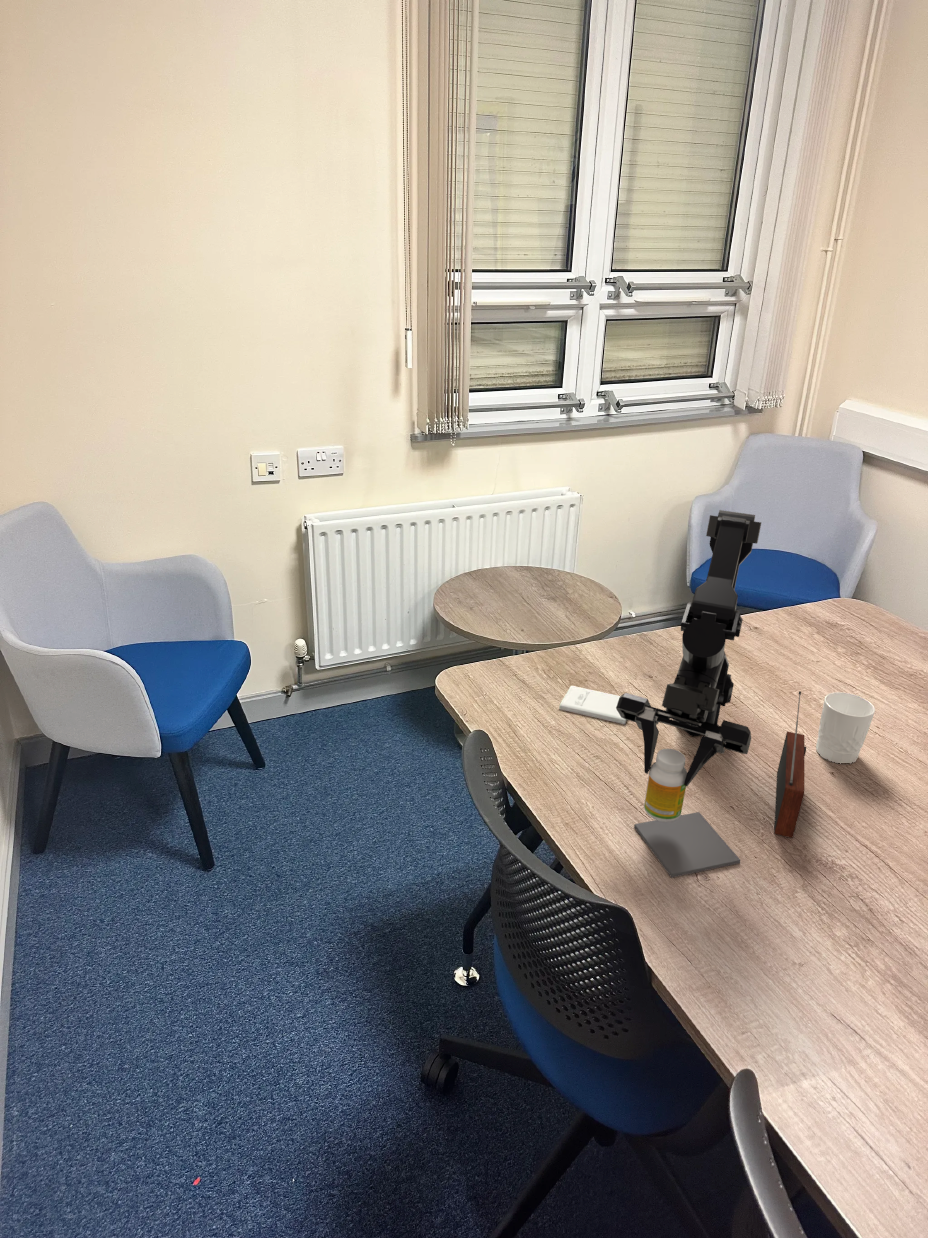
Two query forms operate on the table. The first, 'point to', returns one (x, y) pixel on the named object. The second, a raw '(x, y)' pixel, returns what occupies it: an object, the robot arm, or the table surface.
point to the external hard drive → (592, 704)
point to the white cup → (843, 726)
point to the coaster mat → (686, 844)
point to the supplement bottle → (666, 786)
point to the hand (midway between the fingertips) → (665, 779)
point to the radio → (790, 783)
